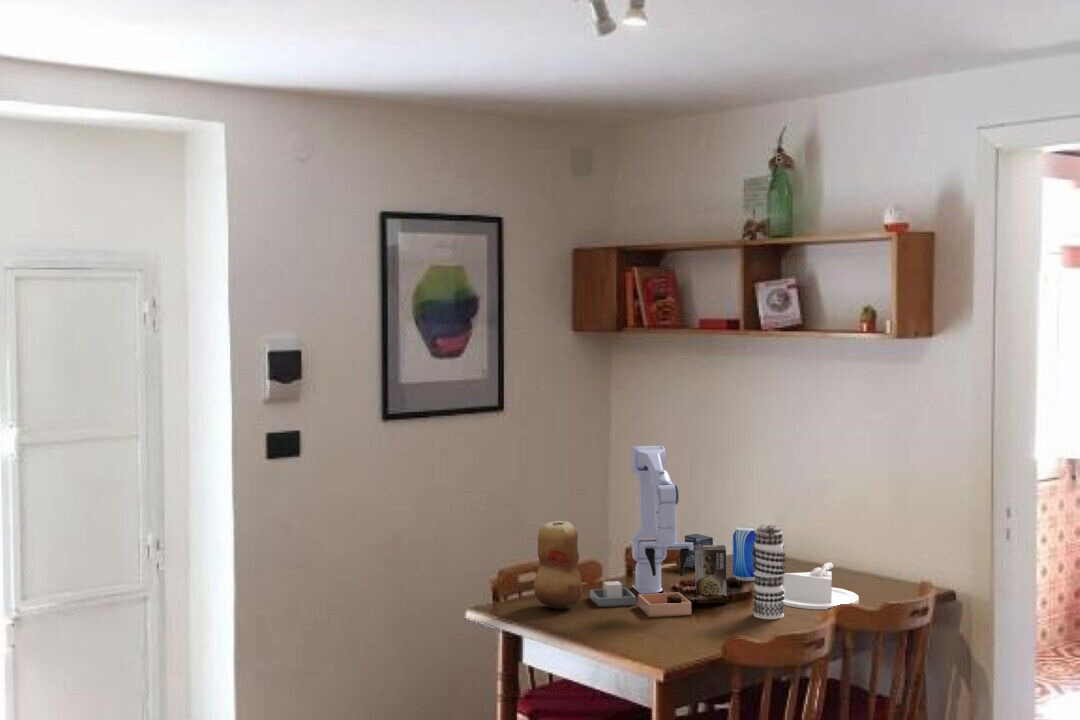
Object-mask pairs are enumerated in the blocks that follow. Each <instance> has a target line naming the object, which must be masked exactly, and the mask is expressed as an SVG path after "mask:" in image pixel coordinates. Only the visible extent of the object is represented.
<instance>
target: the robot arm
mask: <svg viewBox="0 0 1080 720" xmlns="http://www.w3.org/2000/svg"><path fill="white" fill-rule="evenodd" d="M666 460H667V456H666V448H665V446H663V445H661V444H660V445H649V446H648V445H644V446H643V445H641V446H639V445H638V446H636V445H633V446H632V447H631V449H630V469H631V473H632V474H634V475H636V476H637V480H638V492H639V493H638V494H639V497H638V498H639V512H640V515H639V516H640V517H639V518H640V529H639V530H638V531H636V532H634V534H633V535H632V537H631V539H632V541H631V556H632V559H633V560H634V561H635V562H636V563H635V572H634V573H635V575H634V576H635V577H634V578H635V581H634V582H635V584H633V585H632V586H631V587H632V588H633V589H634V590H636V592H638V594H656V593H659V592H661V591H662V590H663V587H662V563H663V561H664V560H665V559H666V558H667V550H668V551H669V550H670V551H671V550H675V551H679V562H680V563H679V576H680V577H682V576H684V570H685V569H684V568H685V562H686V559H687V556H688V554H689V551H690V550H693V543H690V542H685V541H684V542H683V541H678V522H677V520H678V519H677V518H678V515H677V505H678V504H679V500H680V494H679V492H680V491H679V488H678V485H677V484H676V483H673V482H672V480H671V476H670V475H669V472H668V471H667V470H665V469H664V466H665V464H666Z"/></svg>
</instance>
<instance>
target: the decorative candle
mask: <svg viewBox="0 0 1080 720" xmlns="http://www.w3.org/2000/svg"><path fill="white" fill-rule="evenodd" d="M754 532H755V545H753V546H752V549H753V551H752V554H753V555H754V556H755V557H754V558H753V562H754V563H753V567H754V569H755V570H754V574H755V581H754V589H753V591H752V593H753V594H754V595H753V596H752V597H753V599H754V601H753V603H752V606H753V609H752V611H753V616H754V617H756V618H759V619H763V620H779V619H782V618H784V617H785V614H784V612H785V608H784V607H785V606H786V605H785V604H784V603H783V601H782V600H784V596H782V595H783V594H784V591H783V588H784V587H783V577H784V573H785V571H784V569H785V568H786V567H785V565H783V563H784V562H786V559H785V558H784V557H785V556H786V553H785V552H784V551H783V549H784V548H785V545H784V541H783V534H784V531H782V529H781V527H780V526H778V525H773V524H764V525H763V524H762V525H759V526H758V528H757V530H756V531H754ZM755 552H756V553H755ZM778 618H779V619H778Z"/></svg>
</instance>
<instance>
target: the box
mask: <svg viewBox="0 0 1080 720" xmlns="http://www.w3.org/2000/svg"><path fill="white" fill-rule="evenodd" d="M684 542H690V543H693V550H690V551H689V554H688V556H687V559H686V562H685V565H684V568H690V569H694V570H695V545H714V537H712V536H708V535H704V534H699V533H692V534H691V533H690V534H687V535H684Z"/></svg>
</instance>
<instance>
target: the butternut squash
mask: <svg viewBox="0 0 1080 720" xmlns="http://www.w3.org/2000/svg"><path fill="white" fill-rule="evenodd" d="M578 535H579V534H578V531H577V529H576V527H575V525H573V523H571V522H570V521H567V520H554V521H549V522H545V523H544V524H543V525H542V526H541V527H540V529H539V531H538V537H537V555H538V561H539V568H538V571H537V574H536V576H535V579H534V583H533V589H534V594H535V597H536V598H537V600H538V601H539V603H541V604H543V605H545V606H548V607H550V608H551V609H557V610H558V609H559V610H564V609H565V608H567V607H568V606H569V605H574V604H576V603H577V601H578V600H579V599H580V598H581V597H582V596H583V582H582V577H581V574H580V570H579V567H578V566H579V565H578V563H579V559H580V556H579V551H578V537H579V536H578Z"/></svg>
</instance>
